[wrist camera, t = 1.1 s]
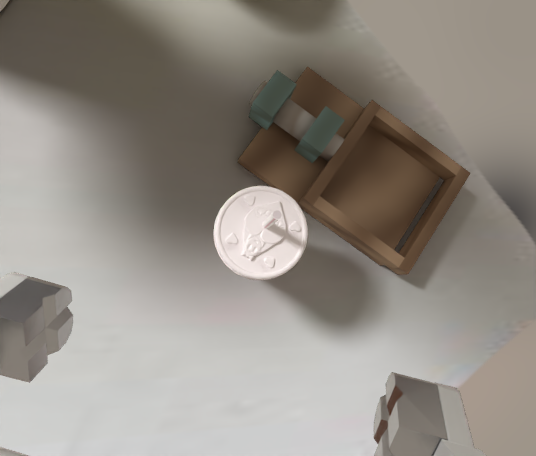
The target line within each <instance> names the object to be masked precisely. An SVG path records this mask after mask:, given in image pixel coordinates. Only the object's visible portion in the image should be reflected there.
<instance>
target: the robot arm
mask: <svg viewBox="0 0 536 456" xmlns="http://www.w3.org/2000/svg"><path fill="white" fill-rule="evenodd" d="M8 2H9V0H0V11H1V10H2V9H3V8H4V7H5V6H6V4H7V3H8ZM71 302H72V294H71V290H70V289H69V288H68V287H65V286H62V285H58V284H55V283H51V282H48V281H44V280H41V279H37V278H34V277H29V276H26V275H22V274H19V273H15V272H14V273H8V274H7V275H5V276H4V277H2V278H1V279H0V375H2V376H6V377H10V378H14V379H18V380H22V381H26V382H31V381H32V380H33V379H34V377H35V376H36V375H37V374H38V373H39V372H40V371H41V370H42V369H43V368H44V367H45V365H46V364H47V363H48V355H49V354H52V353H54V352H57V351H59V350H60V349H61V348H62V347H63V345H64V344H65V343H66V342H67V340H68V338H69V336H70V334H71V331H72V326H73V314H72V313H71V312H70V310H69V309H68V307H67V306H68V305H69V304H70V303H71ZM374 439H375V441H376V442H377V444H378V447H377V449H376V452H375V454H374V456H486V455H485V454H484V452H483V451H482V450H480V449H476V448H474V444H473V440H472V436H471V432H470V429H469V425H468V421H467V418H466V414H465V410H464V406H463V402H462V398H461V395H460V391H459V390H458V389H457V388H455V387H451V386H447V385H442V384H438V383H433V382H429V381H425V380H421V379H417V378H413V377H409V376H405V375H401V374H397V373H393V372H392V373H391V374H390V375H389V377H388V380H387V382H386V395H384V396H382V397H380V400H379V403H378V406H377V409H376V414H375V419H374ZM0 456H28V455H25V454H22V453H19V452H15V451H12V450H9V449H6V448H2V447H0Z"/></svg>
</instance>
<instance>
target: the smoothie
mask: <svg viewBox="0 0 536 456" xmlns="http://www.w3.org/2000/svg"><path fill="white" fill-rule="evenodd" d="M213 234H214V242H215V247H216V249H217V252H218V254H219V256H220V258H221V259H222V260H223V262H224V263H225V264H226V266H227V267H229V268H230V269H231V270H232V271H234V272H235V273H236V274H238V275H240V276H243V277H245V278H248V279H254V280H267V279H273V278H275V277H278V276H280V275H283V274H284V273H286V272H287V271H289V270H290V269H291V268H292V267H294V266H295V264H296V263H297V262H298V261H299V260H300V258H301V256H302V255H303V253H304V250H305V248H306V244H307V239H308V228H307V222H306V219H305V216H304V214H303V211H302V210H301V208H300V206H299V205H298V204H297V203H296V201H295V200H294V199H293V198H292V197H290V196H289V195H288V194H286V193H285V192H283V191H281V190H279V189H276V188H273V187H268V186H253V187H249V188H245V189H243V190H241V191H239V192H237V193H235V194H234V195H233V196H231V197H230V198H229V199H228V200H227V201H226V202H225V204H224V205H223V206H222V207H221V209H220V211H219V213H218V215H217V217H216V220H215V225H214V232H213Z"/></svg>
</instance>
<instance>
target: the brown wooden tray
mask: <svg viewBox="0 0 536 456" xmlns="http://www.w3.org/2000/svg"><path fill="white" fill-rule="evenodd" d="M249 105H251V106H252V107H251V110H250V114H249V118H251V119H252V120H253V121H255V122H256V123H258V124H259V125H260V126H262V128H261V129H260V131H259V132H258V133H257V135H256V136H255V137H254V139H253V140H252V142H251V143H250V144H249V146H248V147H247V148H246V150H245V151H244V152H243V154H242V155H241V156H240V158H239V159H238V163H239V164H240V165H242V166H243V167H245V168H246V169H247V170H249V171H250V172H252V173H253V174H254V175H256V176H257V177H258V178H260V179H261V180H263V181H264V182H265V183H267V184H268V185H269V186H271V187H273V188H276V189H279V190H281V191H283V192H285V193H286V194H288V195H289V196H290V197H292V198H293V199H294V200H295V201H296V203H297V204H298V205H299V206H300V208H301V209H303V210H304V211H305V212H307V213H308V214H310V215H311V216H312V217H314V218H315V219H316V220H318V221H319V222H321V223H322V224H323V225H325V226H326V227H328V228H329V229H330V230H332V231H333V232H334V233H336V234H337V235H339V236H340V237H341V238H343V239H344V240H345V241H347V242H348V243H350V244H351V245H352V246H354V247H355V248H357V249H358V250H359V251H361V252H362V253H363V254H365V255H366V256H368V257H369V258H370V259H372V260H373V261H374V262H376V263H377V264H379V265H385V266H386V267H388V268H389V269H391V270H392V271H393V272H395V273H396V274H397V275H405V274H409V272H410V270H411V269H412V267H413V266H414V264H415V262H416V261H417V259H418V257H419V256H420V254H421V253H422V251H423V249H424V248H425V246H426V244H427V243H428V241H429V240H430V238H431V236H432V235H433V233H434V232H435V230H436V228H437V227H438V225H439V223H440V222H441V220H442V219H443V217H444V215H445V214H446V212H447V210H448V209H449V207H450V206H451V204H452V202H453V201H454V199H455V198H456V196H457V194H458V193H459V191H460V189H461V188H462V186H463V185H464V183H465V181H466V180H467V178H468V176H469V175H470V172H468V171H467V170H466V169H464V168H463V167H462V166H460V165H459V164H457V163H456V162H455V161H453V160H452V159H451V158H449V157H448V156H447V155H445V154H444V153H443V152H441V151H440V150H439V149H437V148H436V147H435V146H433V145H432V144H431V143H429V142H428V141H427V140H425V139H424V138H423V137H421V136H420V135H419V134H417V133H416V132H415V131H413V130H412V129H411V128H409V127H408V126H407V125H405V124H404V123H402V122H401V121H400V120H398V119H397V118H396V117H394V116H393V115H392V114H390V113H389V112H388V111H386V110H385V109H384V108H382V107H381V106H380V105H378V104H377V103H376V102H374V101H373V100H372V101H371V102H370V103H369V104H368V105H367V106H366V107H365V108H363V107H361V106H360V105H358V104H357V103H356V102H354V101H353V100H352V99H350V98H349V97H348V96H346V95H345V94H344V93H342V92H341V91H340V90H338V89H337V88H336V87H334V86H333V85H332V84H330V83H329V82H328V81H326V80H325V79H323V78H322V77H321V76H319V75H318V74H317V73H315V72H314V71H313V70H311V69H310V68H309V67H307V68H306V69H305V70H304V72H303V73H302V75H301V76H300V77H299V79H298V80H297V81H296V83H294V82H293V81H292V80H290V79H289V78H287V77H286V76H285V75H283V74H282V73H281V72H279V71H278V70H277V71H276V73H275V74H274V75H273V77H272V78H271V79H270V80H269V82H268V83H267V82H266V81H264V82H263V83H262V84H261V85H260V86H259V87H258V89H257V90H256V92H255V93H254V95H253V97H252V98H251V100H250V103H249ZM439 178H442V179H443V180H444V182H443V183H442V185H441V186H440V188H439V190H438V191H437V193H436V194H435V196H434V197H433V199H432V201H431V202H430V204H429V205H428V207H427V209H426V210H425V212H424V213H423V215H422V217H421V218H420V220H419V221H418V223H417V225H416V226H415V228H414V229H413V231H412V232H411V234H410V236H409V237H408V239H407V240H406V242H405V244H404V245H403V247H402V248H401V250H400V252H399V253H397V252H396V251H395V250H394V249H395V248H396V246H397V244H398V243H399V241H400V240H401V238H402V237H403V235H404V233H405V232H406V230H407V229H408V227H409V225H410V224H411V222H412V221H413V219H414V218H415V216H416V214H417V213H418V211H419V210H420V208H421V206H422V205H423V203H424V202H425V200H426V199H427V197H428V195H429V194H430V192H431V191H432V189H433V188H434V186H435V184H436V183H437V181H438V180H439Z"/></svg>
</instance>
